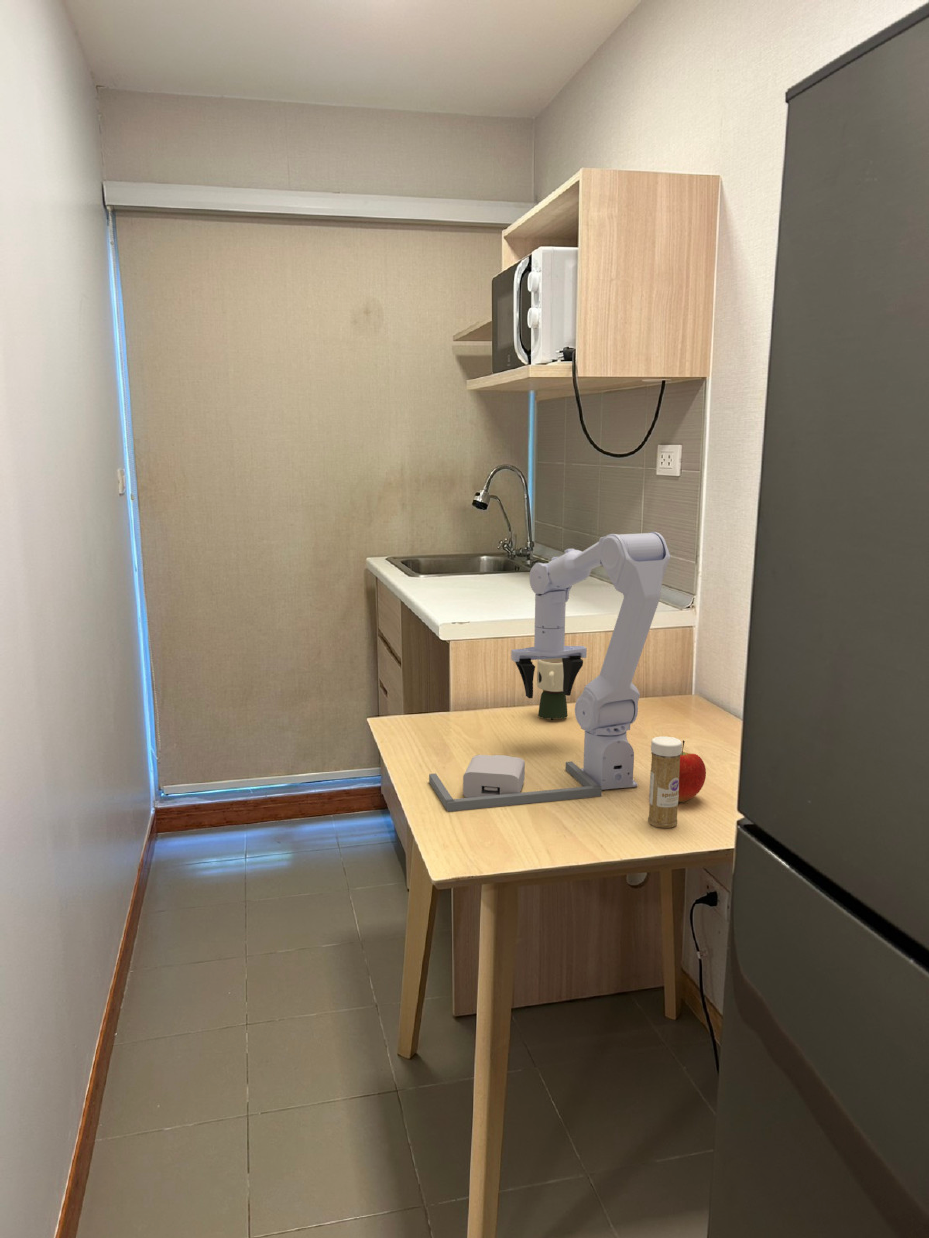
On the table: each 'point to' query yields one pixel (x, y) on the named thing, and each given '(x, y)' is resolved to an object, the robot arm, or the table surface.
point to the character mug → (551, 689)
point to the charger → (493, 776)
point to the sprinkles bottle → (664, 781)
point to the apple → (690, 775)
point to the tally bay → (586, 791)
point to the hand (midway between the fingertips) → (548, 695)
